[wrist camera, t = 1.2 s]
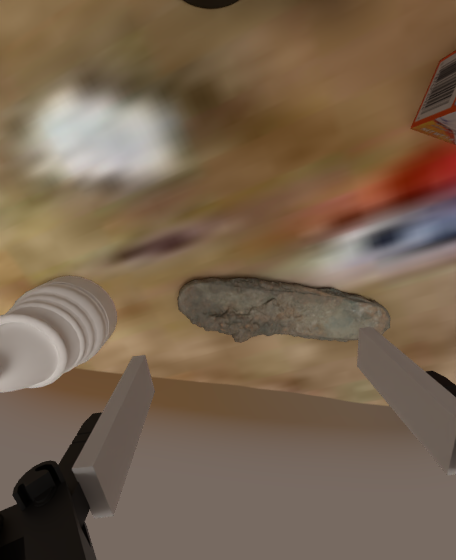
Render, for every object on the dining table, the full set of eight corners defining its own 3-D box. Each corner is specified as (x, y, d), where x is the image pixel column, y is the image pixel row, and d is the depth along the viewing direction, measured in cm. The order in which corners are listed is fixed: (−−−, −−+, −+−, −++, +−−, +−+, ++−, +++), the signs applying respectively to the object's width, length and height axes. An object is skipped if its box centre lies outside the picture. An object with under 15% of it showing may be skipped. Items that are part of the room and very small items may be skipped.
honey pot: (50, 261, 38) (-89, 309, 21) (129, 298, 40) (64, 370, 23) (25, 327, 41) (-114, 418, 24) (100, 359, 43) (22, 462, 26)
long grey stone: (367, 340, 46) (382, 289, 44) (388, 356, 41) (406, 299, 39) (175, 325, 41) (181, 266, 39) (172, 340, 36) (178, 274, 34)
